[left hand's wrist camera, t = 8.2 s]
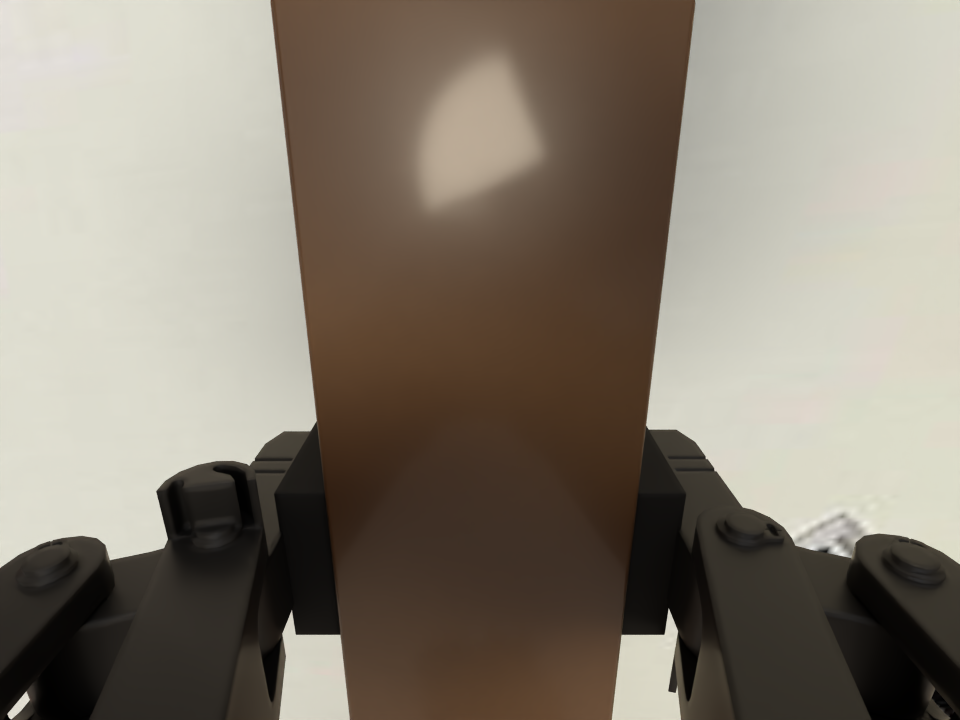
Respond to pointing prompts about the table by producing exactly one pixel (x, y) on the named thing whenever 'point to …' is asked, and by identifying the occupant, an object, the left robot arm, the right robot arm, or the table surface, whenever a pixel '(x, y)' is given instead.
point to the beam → (482, 331)
